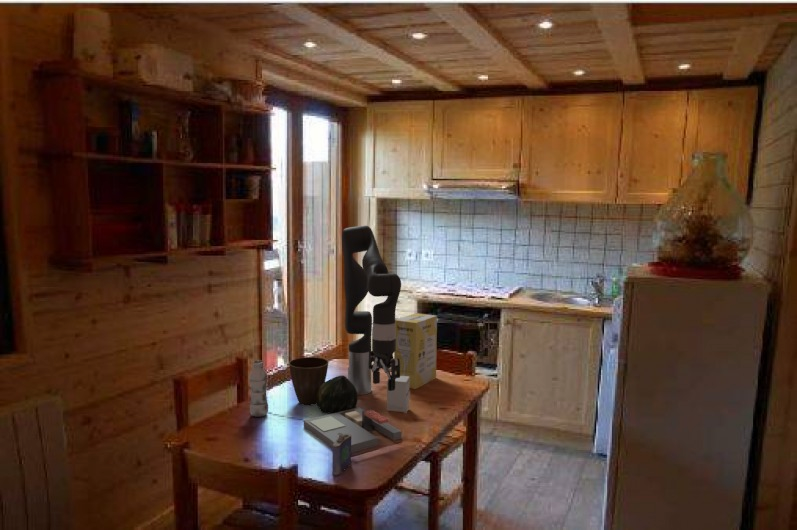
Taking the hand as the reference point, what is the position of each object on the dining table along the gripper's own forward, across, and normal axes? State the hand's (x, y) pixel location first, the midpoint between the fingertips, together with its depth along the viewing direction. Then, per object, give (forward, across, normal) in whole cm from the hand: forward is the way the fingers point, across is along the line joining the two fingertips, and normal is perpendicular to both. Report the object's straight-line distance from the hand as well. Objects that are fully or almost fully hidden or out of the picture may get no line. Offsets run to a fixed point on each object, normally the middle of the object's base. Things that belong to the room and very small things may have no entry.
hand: (383, 386), depth 179 cm
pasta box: (+18, -45, +48) cm, 68 cm away
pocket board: (+19, -11, -6) cm, 22 cm away
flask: (+19, +7, -20) cm, 28 cm away
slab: (+17, -16, -1) cm, 23 cm away
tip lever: (+18, -10, -1) cm, 21 cm away
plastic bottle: (+19, -46, -23) cm, 55 cm away
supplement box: (+19, -20, +20) cm, 34 cm away
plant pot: (+19, -48, -2) cm, 51 cm away
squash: (+19, -32, +2) cm, 38 cm away
